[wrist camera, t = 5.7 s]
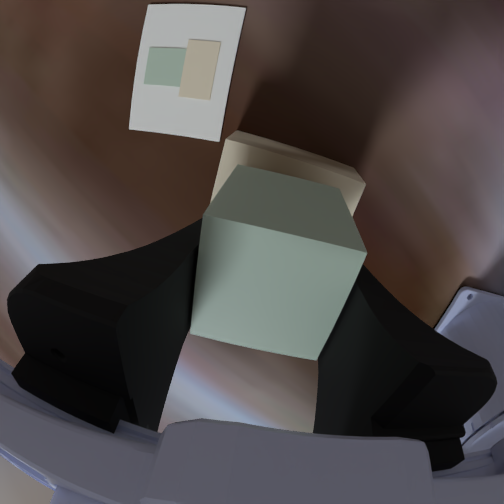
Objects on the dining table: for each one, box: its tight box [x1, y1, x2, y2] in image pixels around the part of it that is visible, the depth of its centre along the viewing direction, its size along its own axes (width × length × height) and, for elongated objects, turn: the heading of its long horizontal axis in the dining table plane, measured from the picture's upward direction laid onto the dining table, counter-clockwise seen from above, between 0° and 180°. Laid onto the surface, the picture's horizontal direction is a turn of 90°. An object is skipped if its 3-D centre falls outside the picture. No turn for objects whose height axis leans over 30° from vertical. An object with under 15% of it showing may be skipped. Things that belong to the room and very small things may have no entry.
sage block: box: [190, 164, 367, 360], centre depth 10 cm, size 4×4×5 cm
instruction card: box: [129, 4, 246, 142], centre depth 12 cm, size 5×7×1 cm
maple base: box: [210, 130, 366, 216], centre depth 15 cm, size 6×6×3 cm
